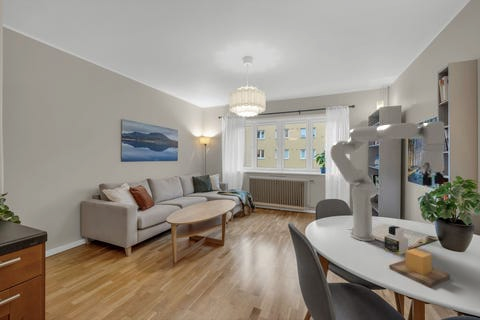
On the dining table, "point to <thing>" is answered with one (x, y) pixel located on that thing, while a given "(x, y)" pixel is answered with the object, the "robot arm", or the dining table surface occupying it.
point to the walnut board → (427, 279)
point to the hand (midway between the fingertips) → (433, 184)
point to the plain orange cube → (419, 261)
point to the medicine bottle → (396, 241)
